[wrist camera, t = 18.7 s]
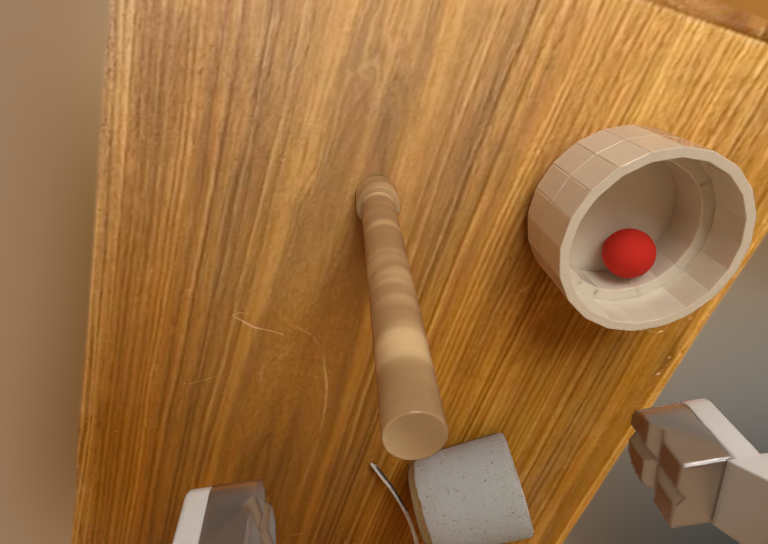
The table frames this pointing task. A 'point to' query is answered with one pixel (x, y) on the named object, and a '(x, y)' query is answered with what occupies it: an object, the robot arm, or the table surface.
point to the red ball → (629, 253)
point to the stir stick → (398, 332)
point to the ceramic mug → (469, 495)
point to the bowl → (641, 224)
